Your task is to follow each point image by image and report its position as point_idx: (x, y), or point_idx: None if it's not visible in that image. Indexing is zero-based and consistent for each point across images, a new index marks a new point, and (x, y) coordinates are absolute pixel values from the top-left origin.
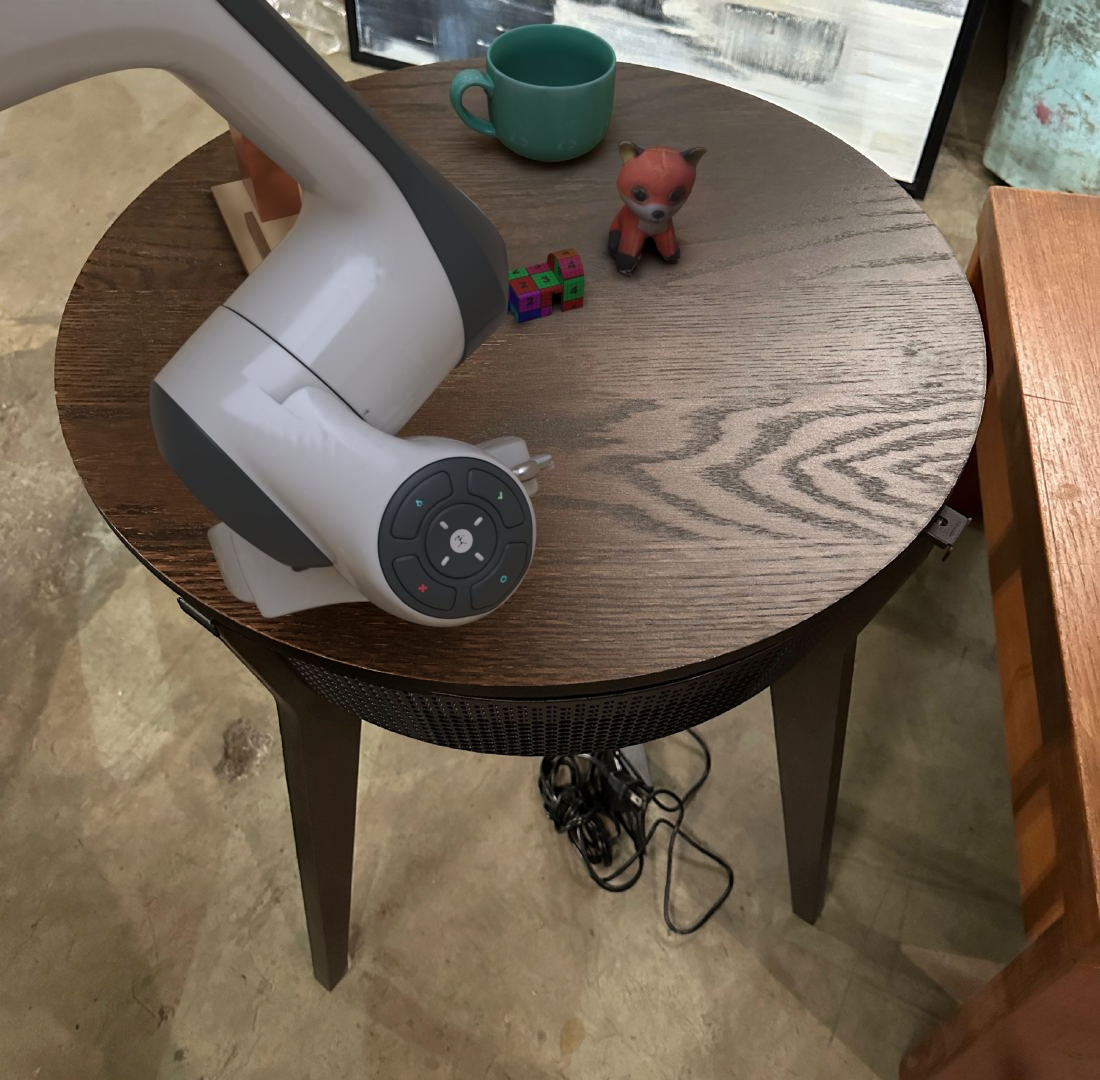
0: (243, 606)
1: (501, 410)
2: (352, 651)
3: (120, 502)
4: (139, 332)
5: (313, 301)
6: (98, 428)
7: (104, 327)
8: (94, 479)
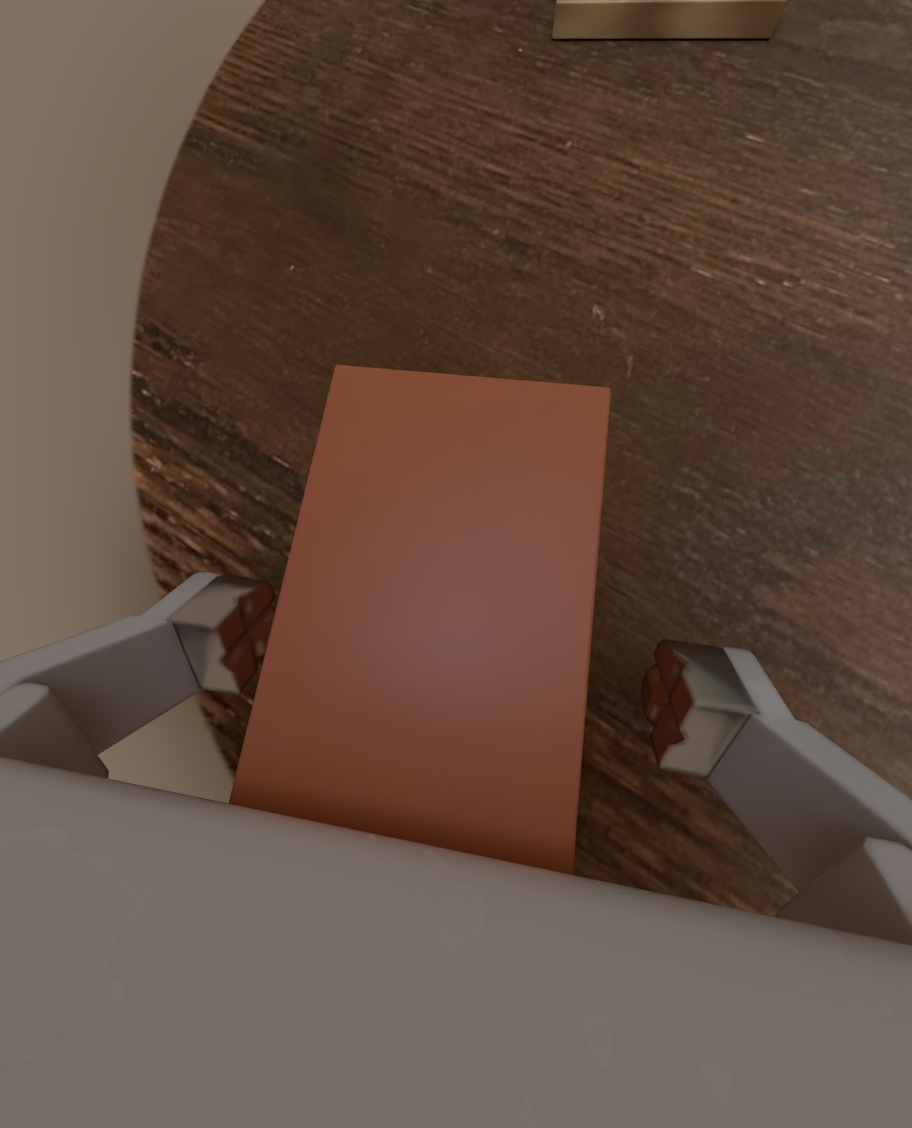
0: None
1: (908, 439)
2: None
3: (154, 320)
4: (350, 29)
5: None
6: (204, 174)
7: (310, 6)
8: (147, 261)
